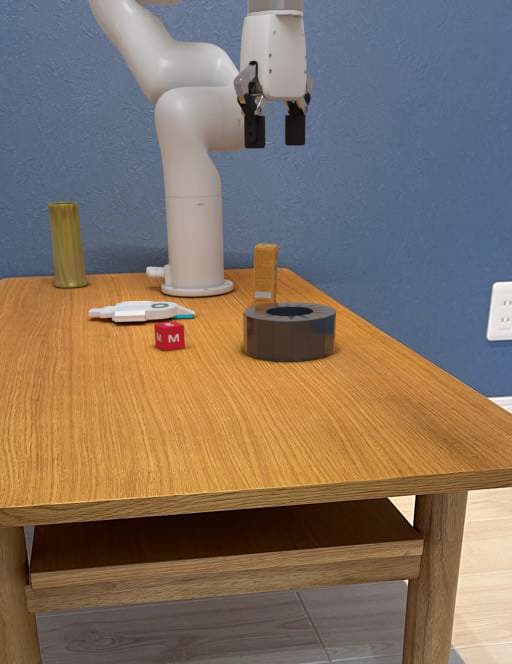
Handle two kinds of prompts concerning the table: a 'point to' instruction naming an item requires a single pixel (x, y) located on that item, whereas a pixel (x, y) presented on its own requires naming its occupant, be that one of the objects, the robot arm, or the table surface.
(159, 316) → the toy rocket
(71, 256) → the vase
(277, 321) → the tape roll
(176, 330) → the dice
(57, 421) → the table surface
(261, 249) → the supplement box
